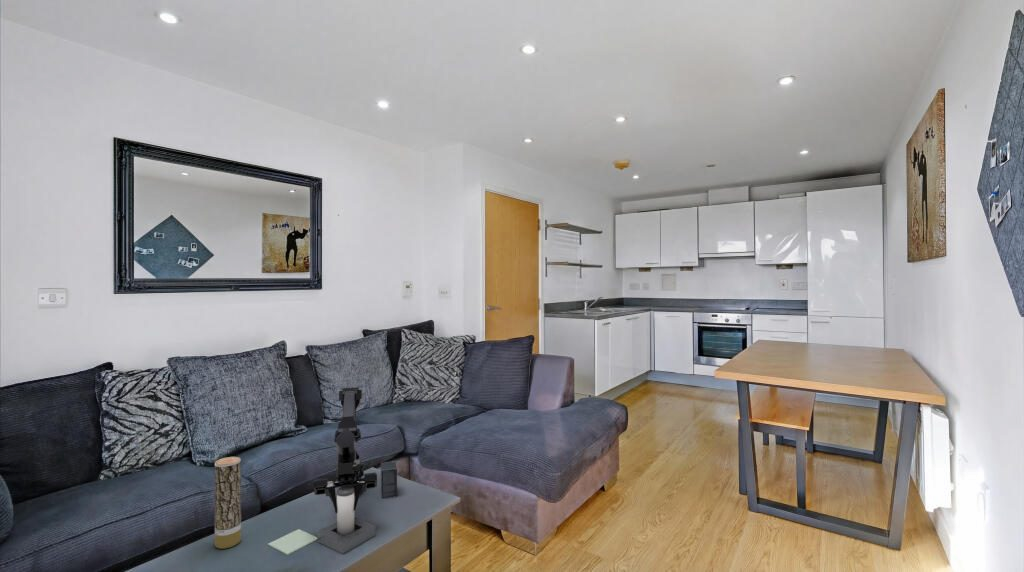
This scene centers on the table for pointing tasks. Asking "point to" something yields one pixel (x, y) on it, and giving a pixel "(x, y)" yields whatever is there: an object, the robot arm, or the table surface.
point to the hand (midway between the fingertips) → (345, 511)
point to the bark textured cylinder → (227, 502)
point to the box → (388, 479)
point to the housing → (348, 542)
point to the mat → (293, 542)
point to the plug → (345, 510)
